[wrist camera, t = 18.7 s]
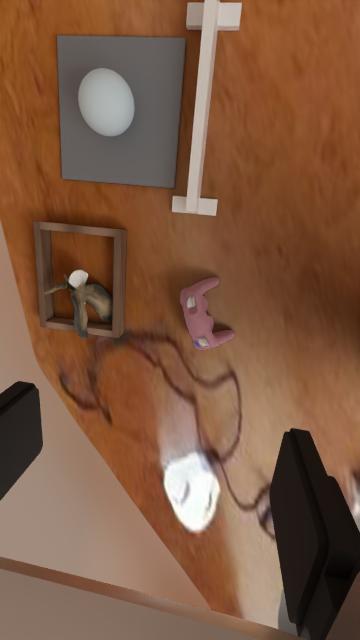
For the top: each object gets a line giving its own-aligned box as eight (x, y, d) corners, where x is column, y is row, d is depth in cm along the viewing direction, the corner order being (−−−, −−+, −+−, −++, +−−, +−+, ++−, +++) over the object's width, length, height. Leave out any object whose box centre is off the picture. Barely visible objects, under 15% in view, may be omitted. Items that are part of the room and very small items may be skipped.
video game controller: (195, 278, 44) (168, 293, 39) (221, 273, 41) (196, 288, 36) (213, 337, 46) (190, 358, 41) (238, 335, 43) (217, 358, 38)
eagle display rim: (127, 229, 42) (121, 229, 39) (123, 332, 47) (118, 338, 44) (43, 221, 43) (33, 221, 41) (49, 321, 48) (40, 326, 46)
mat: (186, 40, 34) (185, 37, 33) (174, 188, 39) (173, 187, 38) (59, 37, 36) (56, 35, 35) (64, 179, 41) (62, 178, 40)
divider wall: (241, 8, 32) (243, -26, 28) (215, 215, 39) (214, 214, 35) (188, 7, 33) (183, -25, 29) (172, 211, 40) (166, 210, 36)
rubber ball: (143, 85, 35) (122, 54, 29) (140, 144, 37) (120, 127, 31) (95, 84, 36) (65, 55, 30) (95, 142, 38) (67, 125, 32)
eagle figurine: (50, 299, 46) (85, 344, 45) (36, 285, 39) (77, 337, 38) (91, 273, 48) (124, 315, 47) (84, 255, 41) (123, 304, 40)
